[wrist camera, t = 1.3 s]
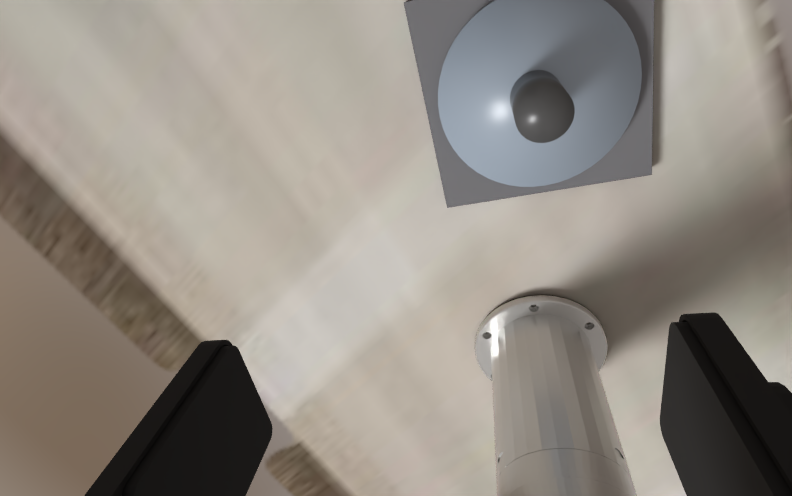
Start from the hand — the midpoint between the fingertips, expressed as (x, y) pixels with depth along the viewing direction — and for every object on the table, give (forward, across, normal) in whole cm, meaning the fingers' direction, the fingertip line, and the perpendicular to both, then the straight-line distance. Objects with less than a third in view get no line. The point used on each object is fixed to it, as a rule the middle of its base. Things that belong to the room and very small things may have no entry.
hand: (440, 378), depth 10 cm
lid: (+29, -5, +1) cm, 30 cm away
